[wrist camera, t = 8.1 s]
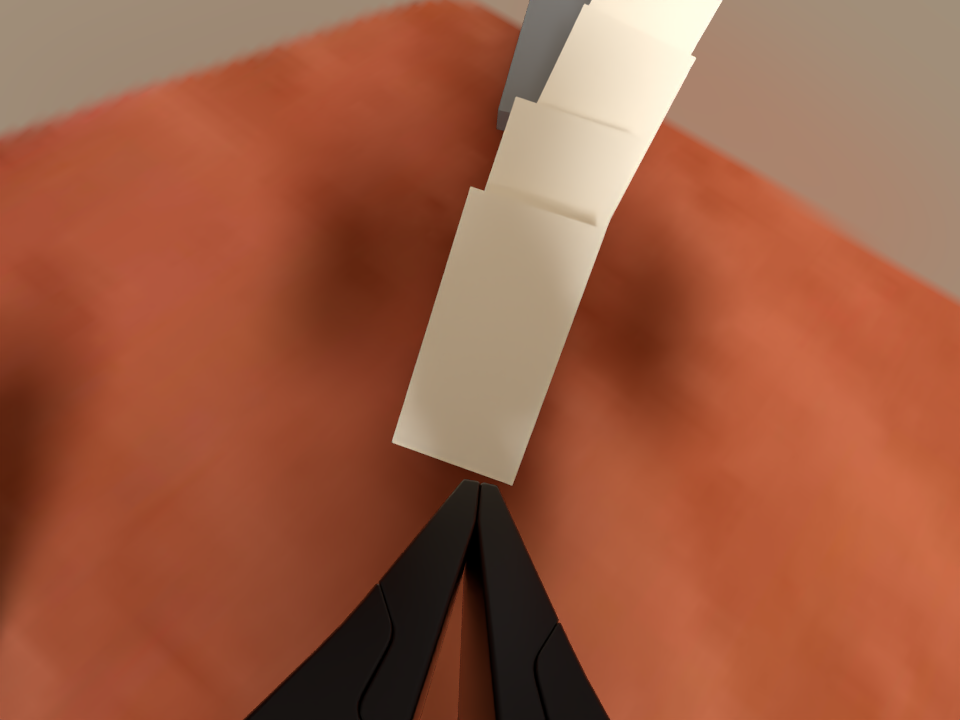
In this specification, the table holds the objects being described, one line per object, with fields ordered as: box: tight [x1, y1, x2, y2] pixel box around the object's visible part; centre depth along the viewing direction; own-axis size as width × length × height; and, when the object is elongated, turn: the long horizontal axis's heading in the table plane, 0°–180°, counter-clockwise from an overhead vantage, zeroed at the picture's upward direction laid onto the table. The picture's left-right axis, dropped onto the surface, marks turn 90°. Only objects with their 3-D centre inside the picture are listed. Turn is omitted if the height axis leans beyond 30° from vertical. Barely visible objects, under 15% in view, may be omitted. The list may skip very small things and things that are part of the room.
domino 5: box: [496, 0, 592, 131], centre depth 21 cm, size 2×5×10 cm
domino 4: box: [589, 0, 722, 55], centre depth 18 cm, size 2×5×10 cm
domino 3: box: [537, 4, 696, 217], centre depth 17 cm, size 2×5×10 cm
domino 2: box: [484, 97, 642, 230], centre depth 16 cm, size 2×5×10 cm
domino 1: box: [392, 186, 606, 485], centre depth 15 cm, size 2×5×10 cm
